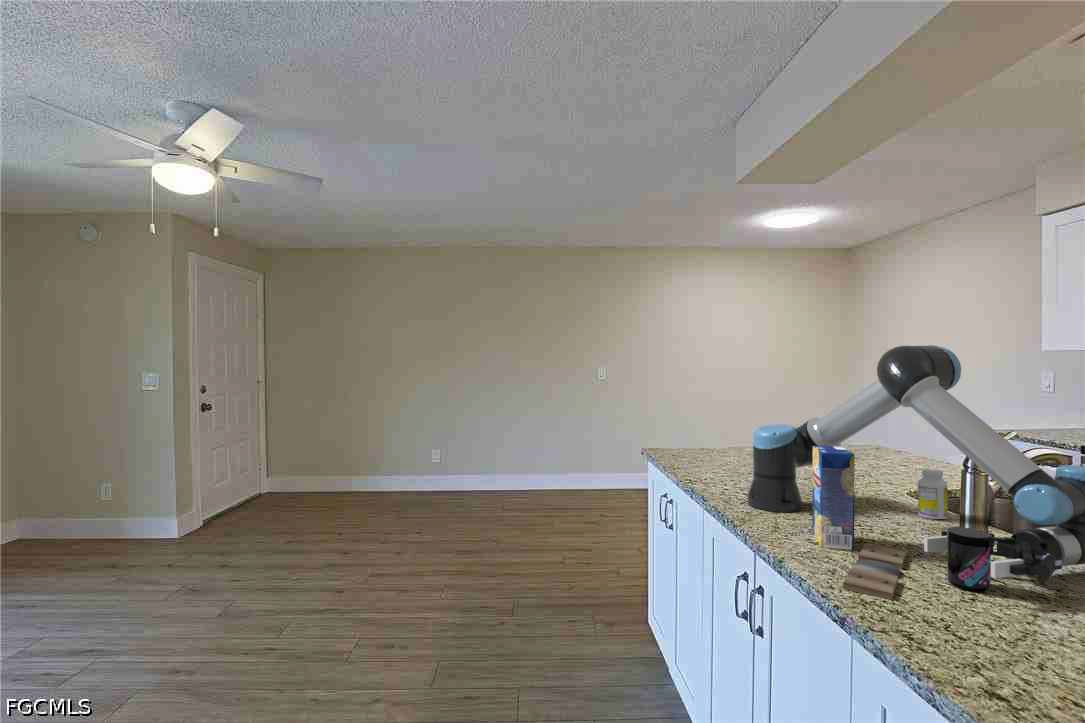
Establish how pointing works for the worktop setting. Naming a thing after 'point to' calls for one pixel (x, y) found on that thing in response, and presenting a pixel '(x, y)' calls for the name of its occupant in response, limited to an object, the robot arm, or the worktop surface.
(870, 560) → the hinge leaves
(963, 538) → the supplement container
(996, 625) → the worktop surface
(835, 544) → the beverage box
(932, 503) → the supplement bottle
